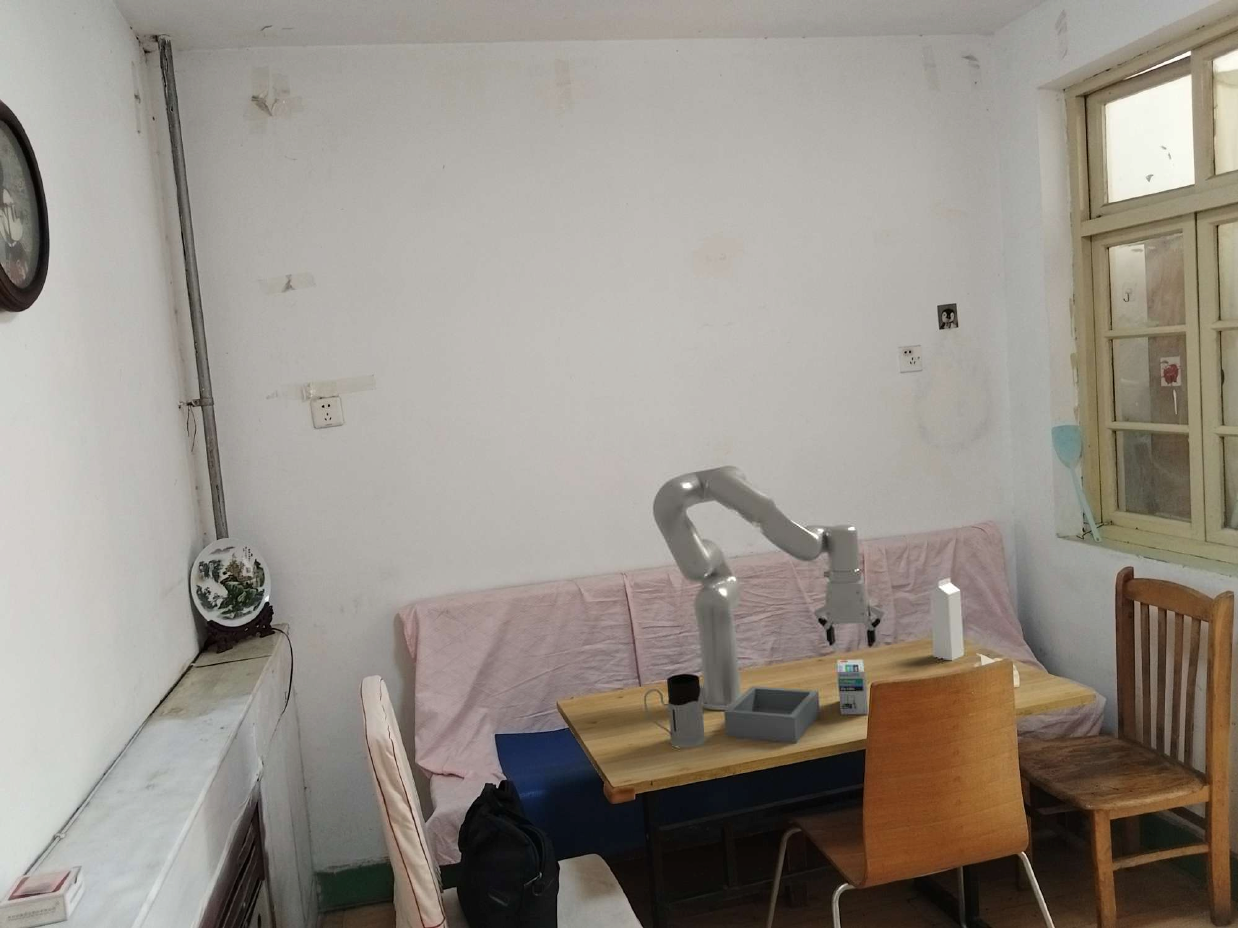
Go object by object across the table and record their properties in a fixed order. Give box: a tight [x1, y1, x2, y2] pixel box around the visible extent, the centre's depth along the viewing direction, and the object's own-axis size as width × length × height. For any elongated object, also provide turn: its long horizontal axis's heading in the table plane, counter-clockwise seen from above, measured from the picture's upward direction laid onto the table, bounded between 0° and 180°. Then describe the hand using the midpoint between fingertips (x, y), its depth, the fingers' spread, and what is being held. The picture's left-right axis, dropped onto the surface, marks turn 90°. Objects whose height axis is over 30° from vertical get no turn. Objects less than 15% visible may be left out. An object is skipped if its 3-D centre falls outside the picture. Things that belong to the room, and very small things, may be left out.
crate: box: [723, 685, 821, 744], centre depth 236 cm, size 17×19×6 cm
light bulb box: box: [836, 659, 869, 716], centre depth 244 cm, size 11×7×11 cm, turn 168°
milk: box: [929, 577, 965, 661], centre depth 277 cm, size 6×6×22 cm
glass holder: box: [643, 673, 708, 749], centre depth 230 cm, size 9×14×15 cm, turn 107°
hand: (851, 644), depth 242 cm, fingers open, 9 cm apart
